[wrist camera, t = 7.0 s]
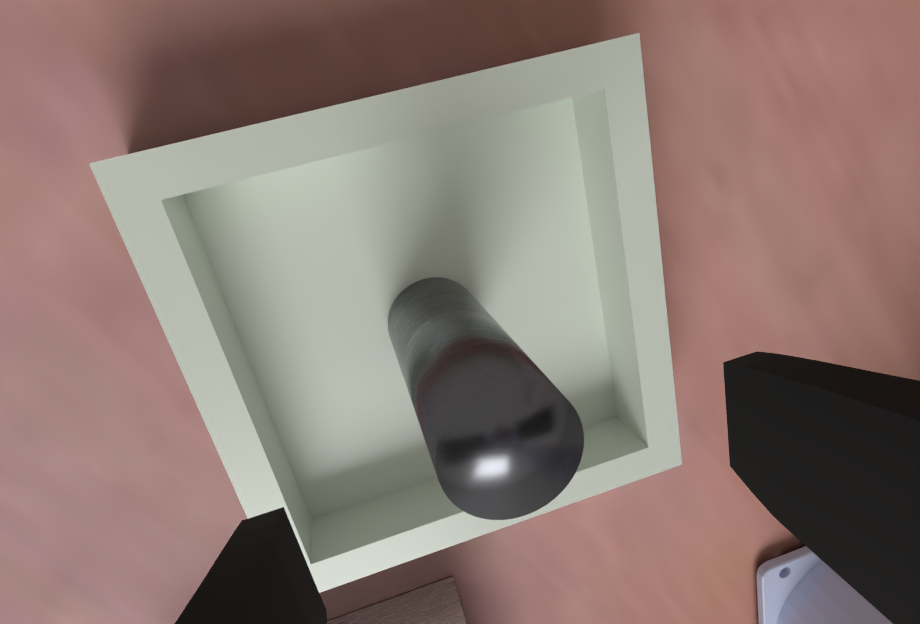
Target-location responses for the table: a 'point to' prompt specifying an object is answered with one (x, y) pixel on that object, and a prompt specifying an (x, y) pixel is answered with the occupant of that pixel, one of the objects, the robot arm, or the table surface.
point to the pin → (482, 404)
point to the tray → (395, 268)
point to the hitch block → (413, 608)
